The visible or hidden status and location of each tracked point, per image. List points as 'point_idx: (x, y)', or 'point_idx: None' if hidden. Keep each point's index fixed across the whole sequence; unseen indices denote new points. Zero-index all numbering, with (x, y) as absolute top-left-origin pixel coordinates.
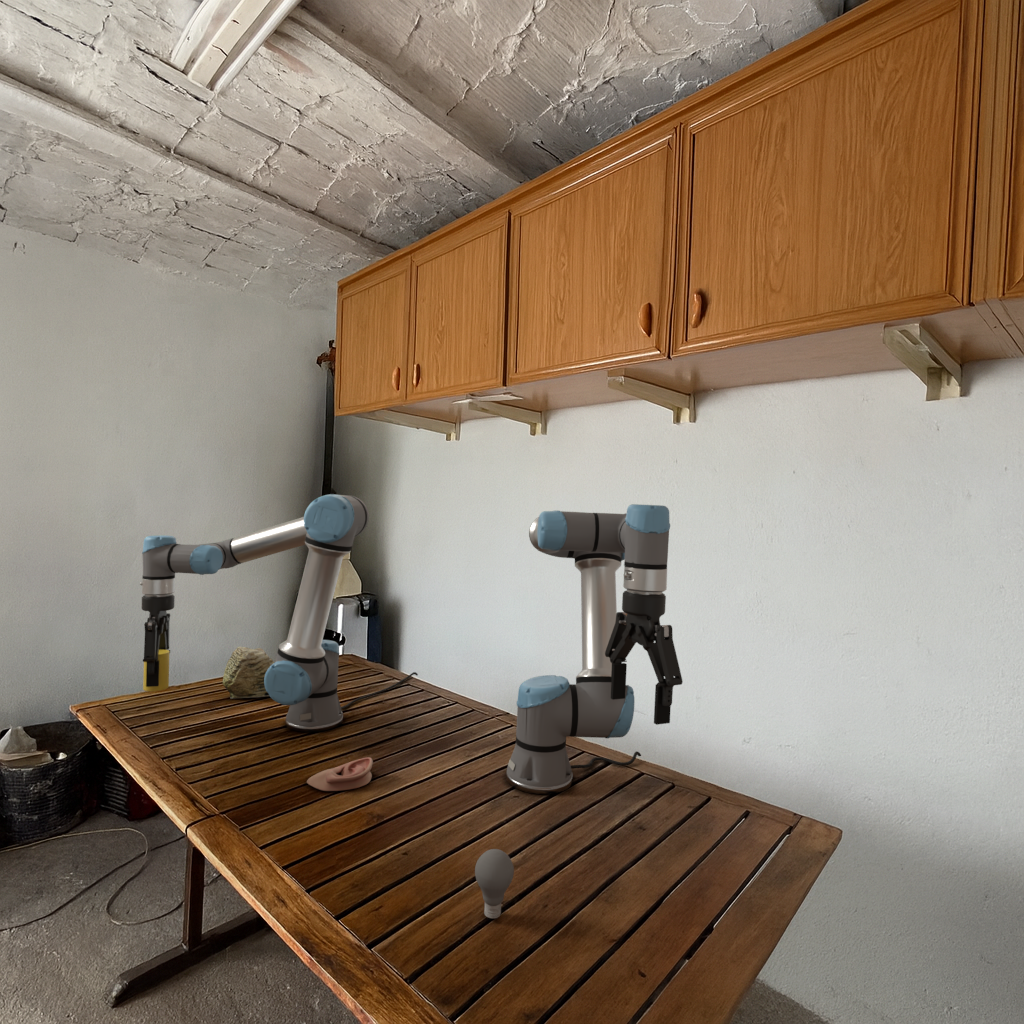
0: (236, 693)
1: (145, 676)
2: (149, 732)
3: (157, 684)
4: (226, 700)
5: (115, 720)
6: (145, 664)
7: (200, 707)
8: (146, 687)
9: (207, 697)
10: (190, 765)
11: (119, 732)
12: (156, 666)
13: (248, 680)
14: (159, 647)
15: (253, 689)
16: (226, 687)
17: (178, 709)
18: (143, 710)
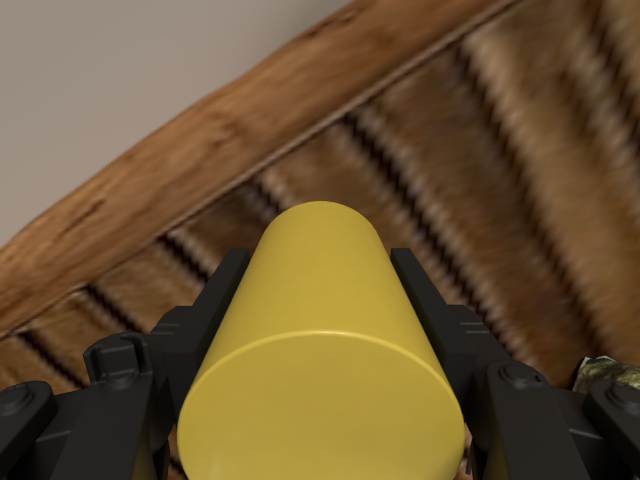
0: (580, 389)
1: (256, 255)
2: (295, 194)
3: None
4: (574, 347)
5: (451, 20)
6: (237, 298)
7: (523, 288)
8: (262, 237)
9: (635, 287)
10: (51, 355)
11: (305, 89)
12: None
13: None
14: (490, 466)
15: None
16: (613, 376)
17: (523, 225)
18: (553, 98)
